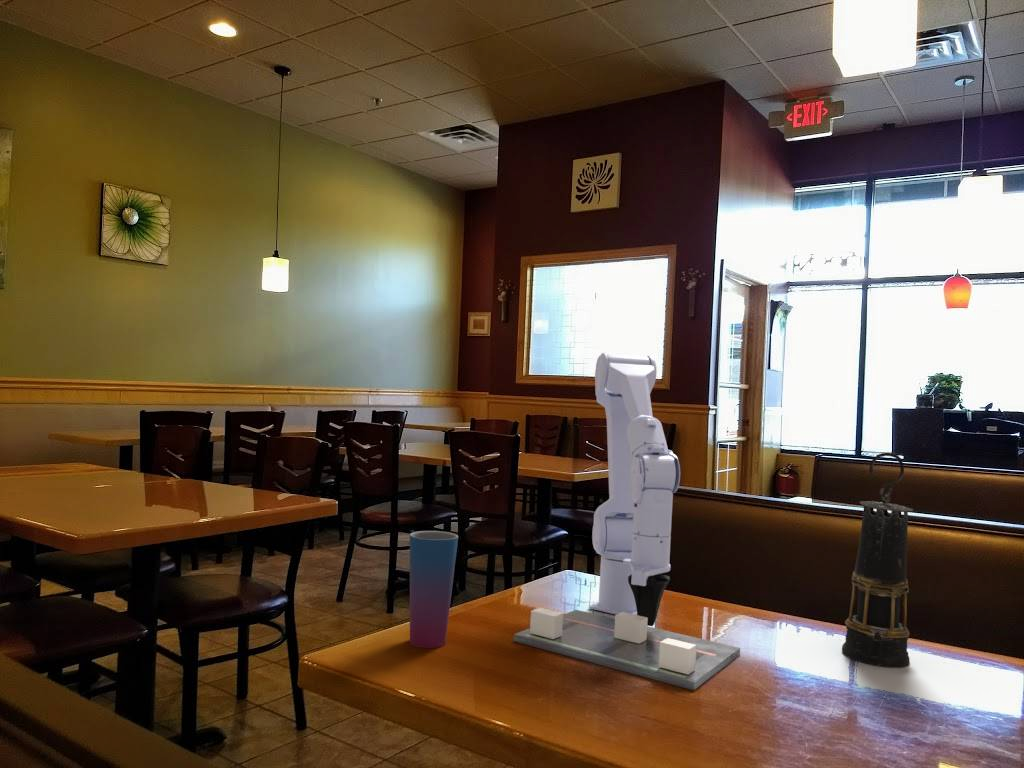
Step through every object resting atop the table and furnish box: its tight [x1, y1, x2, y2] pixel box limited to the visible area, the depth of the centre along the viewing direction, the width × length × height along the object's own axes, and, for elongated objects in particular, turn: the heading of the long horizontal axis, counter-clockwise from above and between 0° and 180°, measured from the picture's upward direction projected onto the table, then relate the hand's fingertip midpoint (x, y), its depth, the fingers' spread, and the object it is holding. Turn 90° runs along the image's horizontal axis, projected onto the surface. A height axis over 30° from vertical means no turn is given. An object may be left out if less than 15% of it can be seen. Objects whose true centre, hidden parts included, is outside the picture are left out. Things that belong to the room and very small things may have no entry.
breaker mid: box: [614, 612, 648, 644], centre depth 110 cm, size 2×4×3 cm, turn 56°
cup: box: [409, 530, 459, 649], centre depth 107 cm, size 7×7×15 cm
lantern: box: [841, 452, 914, 669], centre depth 112 cm, size 9×9×30 cm
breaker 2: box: [659, 638, 696, 675], centre depth 98 cm, size 2×4×3 cm, turn 56°
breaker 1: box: [529, 607, 564, 639], centre depth 110 cm, size 2×4×3 cm, turn 56°
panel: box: [513, 609, 741, 691], centre depth 109 cm, size 18×27×1 cm, turn 56°
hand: (646, 624), depth 115 cm, fingers closed
